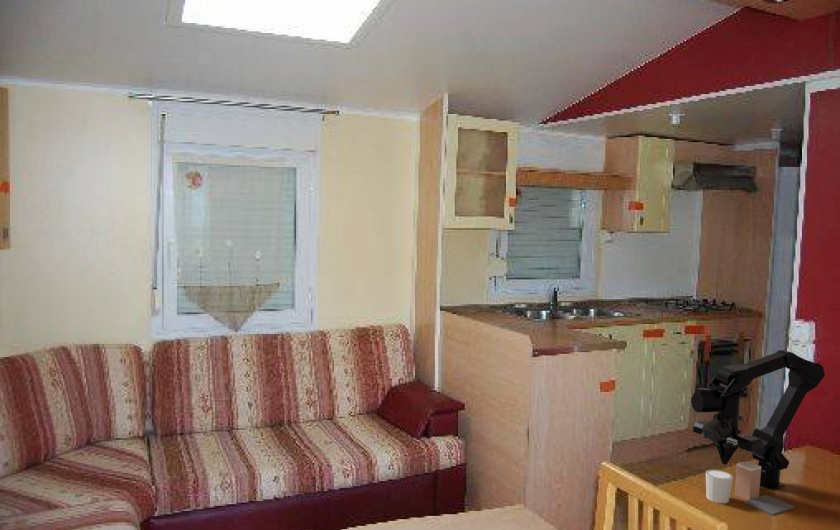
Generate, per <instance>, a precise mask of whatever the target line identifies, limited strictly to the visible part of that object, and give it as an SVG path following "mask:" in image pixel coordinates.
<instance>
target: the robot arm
mask: <svg viewBox="0 0 840 530" xmlns="http://www.w3.org/2000/svg"><path fill="white" fill-rule="evenodd" d="M784 368H786V369H787V370H788V374H787V377H788V385H787V387H786V388H785V390H784V392H783V394H782V396H781V398H780V400H779V402H778V403H777V405H776V407H775V409H774V411H773V413H772V415H771V417H770V418H769V420H768V421H767V424H766V426H764V427H763V428H761V429H758V428H757V427H756V428H755V429H754V430H753V432H752V434H748V435H744V436H741V435H740V434H742V432H741V429H739V425H740V424H739V422H740V421H741V420H743V416H742V415H740V409H741V398H748V394H747V393H746V392H745V391H744V390H743V389H744V388H746V387H748V386H750V384H752V381H753V380H755V379H757V378H760V377H763V376H765V375H768V374H770V373H773V372H776V371H778V370H782V369H784ZM825 374H826V371H825V368H824V367H823V365H822V364H821V363H819V362H815V361H812V360H808V359H805V358H803V357H801V356H799V355H797V354H796V353H794V352H792V351H788V350H784V349H779V350H777V351H776V352H773V353H771V354H768V355H766V356H762V357H760V358H757V359H755V360H754V359H753V360H752V361H748V362H747V363H744V364H728V365H724V366H720V367H719V368H718V369H717V372H716V374H715V375H714V377H713V378H712V379H711V380H710V382H709V383H708V384H707V385H706V388H703V387H696V390H695V392H694V393H692V395H691V396H692V397H691V398H690V404H691V407H692V409H693V411H694V412H696V413H714V414H713V417H712V419H711V420H710V421H708V420H701V421H700V420H699V421H695V422H694V423H693V425H692V432H694V433H696V434H699V435H703V438H704V439H707V440H709V441H711V442H712V443H714V445H715V446H716V448H717V452H718V454H719V457H720V462H721V464H722V465H724V466H727V465H728V463H729V461H730V460H731V458H732V457H733V455H734V454H735V452H736V451H737V449H738V448H739V449H740V450H744V451H747V452H750V453H751V457H752V459H753V460H756V461H758V462H757V465H759V466H761V476H760V486H762V487H765V488H767V489H769V490H775V489H779V488H782V487H785V483H784V482H781V471H783V470H784V469H785V470H787V469H788V467H789V464H790V460H788V459H787V458H786V456H785V455H784V454H783V451H784V449H785V441H784V435H785V434H786V432H787V429H789V426H790V425H791V423H792V421H793V419H794V417H795V416H796V414H797V412H798V410H799V408H800V406H801V404H802V403H803V401H804V398H805V397H806V395H807V393H809V392H810V391H812V390H813V389H815V388H817V387H818V386H819V384H820V383H821V382H822V381H823V379H824V377H825Z"/></svg>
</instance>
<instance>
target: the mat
mask: <svg viewBox="0 0 840 530" xmlns="http://www.w3.org/2000/svg"><path fill="white" fill-rule="evenodd" d="M743 504H744V505H748V506H749V507H752V508H754V509H757V510H758V511H760V512H764V513H766V514H767V515H770V516H776V515H778V514H781V513H784V512H787V511H790V510H794V509H795V508H796V506H794V505H792V504H789V503H786V502H784V501H783V500H779V499H777V498H775V497H772V496H770V495H767V494H765V495H761V496H759V497H758V498H754V499H751V500H745V501H743Z"/></svg>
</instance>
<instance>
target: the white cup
mask: <svg viewBox="0 0 840 530" xmlns="http://www.w3.org/2000/svg"><path fill="white" fill-rule="evenodd" d="M733 479H734V477H733V475H732V474H731V473H729V472H726V471H724V470H719V469H708V470H706V471H705V490H706V492H705V493H706V498H707V500H708V501H711V502H713V503H718V504H727V503H729V502H730V497H731V491H732V486H733Z"/></svg>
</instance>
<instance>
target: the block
mask: <svg viewBox="0 0 840 530" xmlns="http://www.w3.org/2000/svg"><path fill="white" fill-rule="evenodd" d="M735 469H736V470H735V483H734V484H735V485H734V495H735V496H736V497H739V498H741V499H744V500H745V501H748V500H751V499H754V498H758V497H760V489H761V488H760V487H761V485H760V476H761V466H759V465H758V464H756V463H753V462H750V461H747V460H746V461H742V462H737V463H736V468H735Z"/></svg>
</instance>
